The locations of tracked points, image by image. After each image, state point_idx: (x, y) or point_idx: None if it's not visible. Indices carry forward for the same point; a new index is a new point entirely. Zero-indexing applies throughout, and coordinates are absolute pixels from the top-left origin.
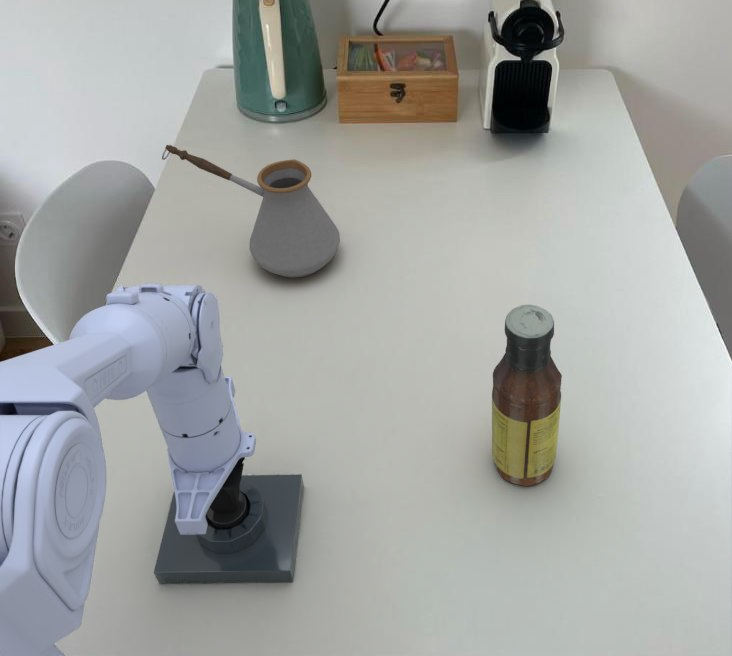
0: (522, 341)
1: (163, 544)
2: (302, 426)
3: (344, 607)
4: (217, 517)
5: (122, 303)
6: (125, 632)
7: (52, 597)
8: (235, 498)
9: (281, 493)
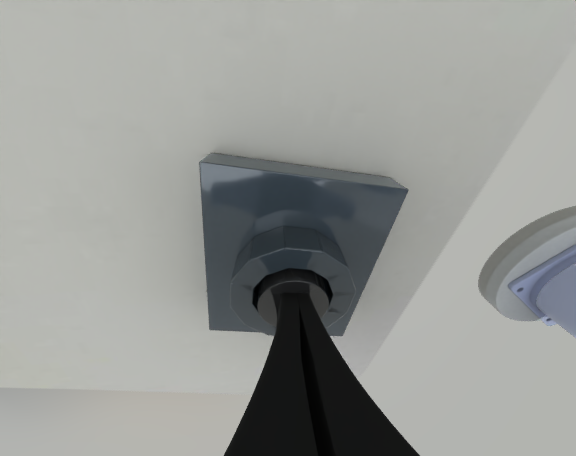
0: None
1: None
2: (61, 149)
3: (473, 87)
4: None
5: None
6: (376, 329)
7: None
8: (332, 343)
9: (246, 202)
